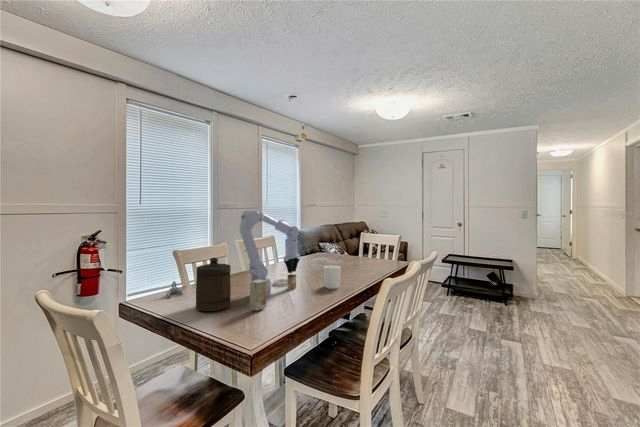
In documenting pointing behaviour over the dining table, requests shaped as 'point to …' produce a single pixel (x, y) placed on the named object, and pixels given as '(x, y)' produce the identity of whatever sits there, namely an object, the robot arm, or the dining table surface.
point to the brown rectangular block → (291, 281)
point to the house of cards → (173, 291)
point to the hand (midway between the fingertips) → (291, 272)
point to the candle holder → (332, 276)
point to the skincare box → (257, 294)
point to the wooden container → (213, 286)
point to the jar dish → (280, 282)
